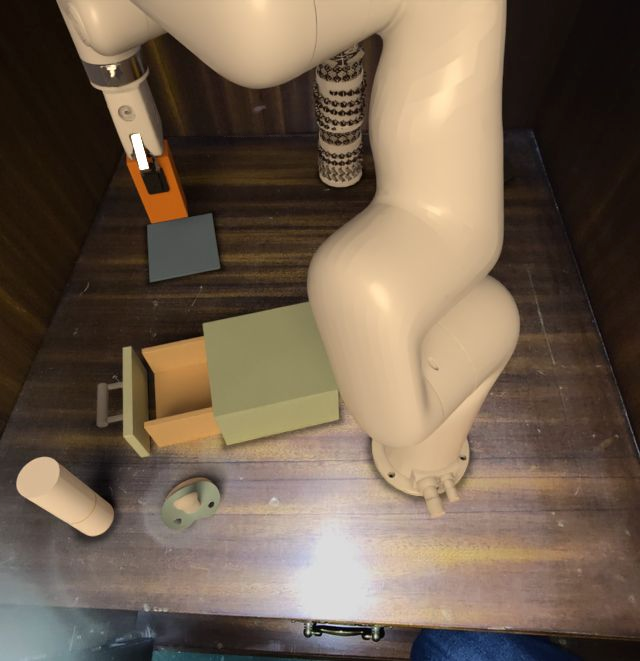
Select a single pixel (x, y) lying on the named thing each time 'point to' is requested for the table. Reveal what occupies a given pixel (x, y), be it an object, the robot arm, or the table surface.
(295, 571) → the table surface
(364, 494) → the table surface
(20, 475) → the tube
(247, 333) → the cabinet
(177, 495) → the pacifier
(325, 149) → the decorative candle
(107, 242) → the table surface
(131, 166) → the orange rectangular block
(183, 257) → the mat
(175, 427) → the drawer
